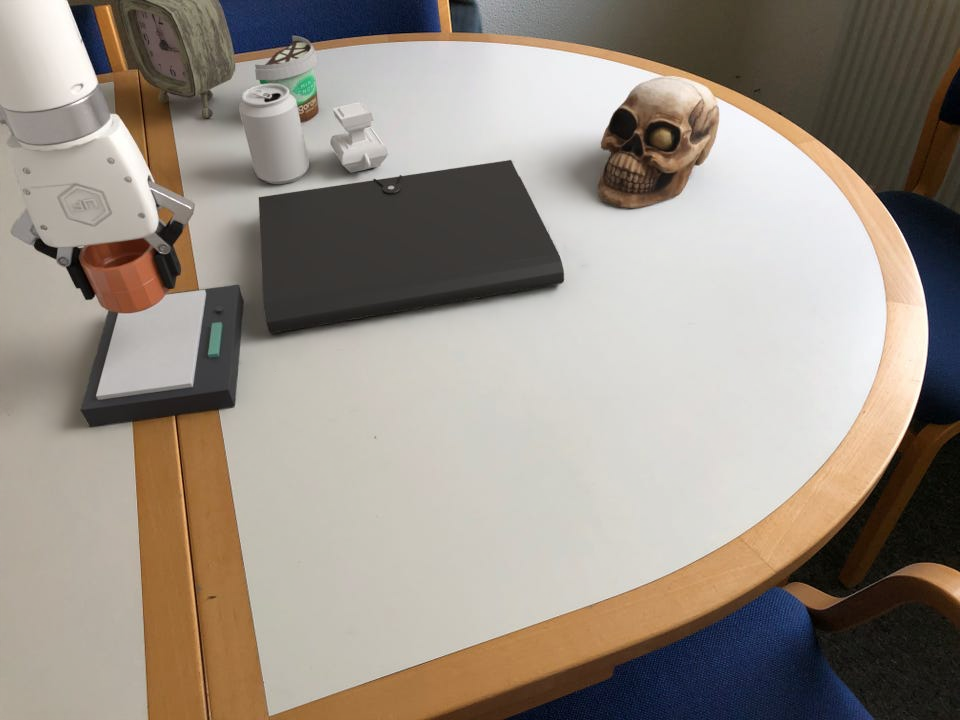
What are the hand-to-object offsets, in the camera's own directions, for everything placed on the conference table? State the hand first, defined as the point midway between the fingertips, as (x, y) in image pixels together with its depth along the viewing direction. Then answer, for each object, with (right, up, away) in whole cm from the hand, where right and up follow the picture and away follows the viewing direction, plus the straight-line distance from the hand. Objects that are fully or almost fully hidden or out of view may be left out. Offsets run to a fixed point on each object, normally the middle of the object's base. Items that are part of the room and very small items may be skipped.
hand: (132, 284), depth 77 cm
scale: (+1, -7, +7) cm, 10 cm away
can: (+6, +19, +35) cm, 40 cm away
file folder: (+25, +6, +20) cm, 32 cm away
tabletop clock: (-12, +34, +53) cm, 64 cm away
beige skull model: (+57, +18, +31) cm, 68 cm away
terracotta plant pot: (0, -1, +1) cm, 1 cm away
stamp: (+17, +20, +36) cm, 45 cm away
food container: (+6, +31, +48) cm, 58 cm away
